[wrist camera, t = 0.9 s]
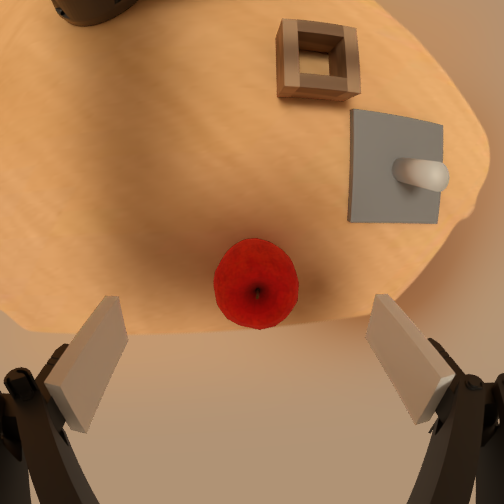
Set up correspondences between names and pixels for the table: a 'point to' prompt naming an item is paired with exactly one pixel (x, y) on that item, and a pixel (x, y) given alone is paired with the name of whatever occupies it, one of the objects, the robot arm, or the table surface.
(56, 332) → the table surface
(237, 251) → the apple
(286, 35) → the frame
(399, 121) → the stand
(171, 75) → the table surface
